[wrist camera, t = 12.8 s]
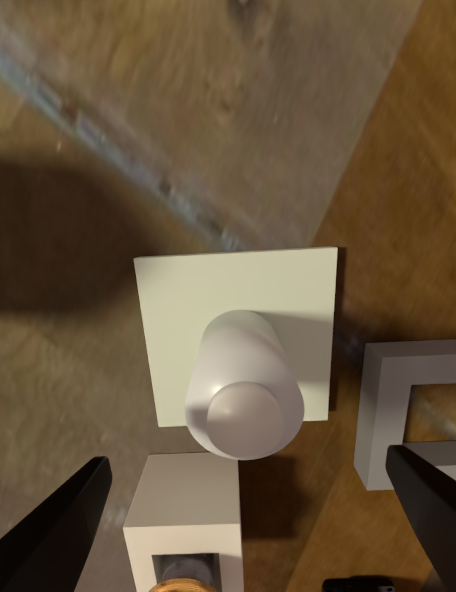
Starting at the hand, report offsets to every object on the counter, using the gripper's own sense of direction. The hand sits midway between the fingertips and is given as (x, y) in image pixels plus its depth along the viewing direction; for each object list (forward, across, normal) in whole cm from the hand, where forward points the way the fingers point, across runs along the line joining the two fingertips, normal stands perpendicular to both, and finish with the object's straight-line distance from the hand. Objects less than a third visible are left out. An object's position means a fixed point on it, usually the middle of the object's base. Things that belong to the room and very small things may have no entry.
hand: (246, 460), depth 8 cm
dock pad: (+9, 0, 0) cm, 9 cm away
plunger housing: (+9, +4, +14) cm, 17 cm away
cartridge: (+8, 0, 0) cm, 8 cm away
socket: (+9, -14, +6) cm, 18 cm away
